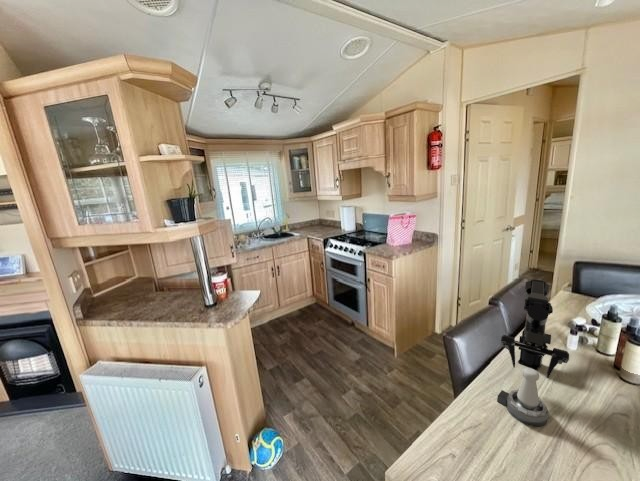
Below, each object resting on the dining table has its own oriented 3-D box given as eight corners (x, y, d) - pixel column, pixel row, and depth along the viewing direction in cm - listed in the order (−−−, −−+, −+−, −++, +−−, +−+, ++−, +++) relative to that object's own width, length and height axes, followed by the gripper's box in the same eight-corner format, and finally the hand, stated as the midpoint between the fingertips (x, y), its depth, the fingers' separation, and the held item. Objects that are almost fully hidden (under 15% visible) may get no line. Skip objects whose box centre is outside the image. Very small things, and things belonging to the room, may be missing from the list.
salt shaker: (538, 402, 89) (542, 369, 86) (538, 414, 85) (543, 379, 82) (516, 395, 93) (520, 362, 90) (515, 406, 88) (519, 372, 86)
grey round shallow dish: (493, 406, 92) (494, 395, 91) (504, 390, 99) (505, 380, 98) (542, 433, 82) (543, 421, 81) (551, 413, 88) (553, 402, 87)
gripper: (503, 315, 98) (497, 357, 93) (572, 330, 87) (570, 379, 81) (504, 324, 106) (498, 364, 100) (567, 340, 94) (565, 385, 88)
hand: (530, 372), depth 92 cm, fingers open, 9 cm apart
